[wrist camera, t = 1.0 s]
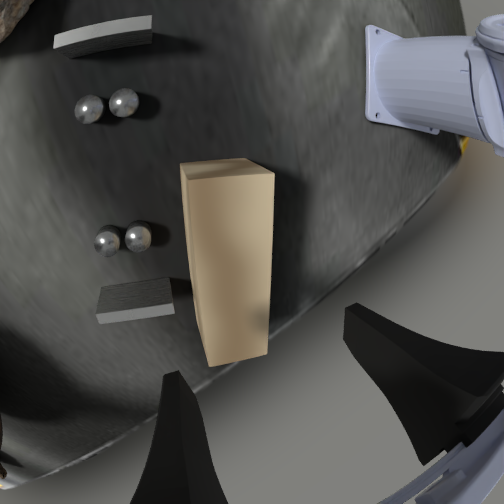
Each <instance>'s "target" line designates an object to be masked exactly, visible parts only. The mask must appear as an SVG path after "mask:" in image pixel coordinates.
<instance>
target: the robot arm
mask: <svg viewBox="0 0 504 504" xmlns="http://www.w3.org/2000/svg"><path fill="white" fill-rule="evenodd" d="M376 32H377V34H376ZM475 32H476V36H434V37H419V38H408V39H404V38H402V37H399V36H397V35H395V34H393V33H391V32H388V31H386V30H383V29H381V28H379V27H376V26H373V25H368V26H366V28H365V34H366V110H365V115H366V118H367V119H368V120H369V121H374V122H379V123H385V124H390V125H396V126H400V127H405V128H410V129H414V130H419V131H423V132H427V133H431V134H435V135H437V134H438V133H439V130H444V131H448V132H452V133H456V134H460V135H464V136H467V137H471V138H475V139H478V140H481V141H484V142H487V143H491V144H492V145H493V147H494V151H495V154H496V155H499V156H502V157H504V14H500V15H493V16H489V17H487V18H484V19H483V20H482V21H481V22H480V24H479V26H478V27H477V28H476V31H475ZM376 113H377V118H376ZM343 340H344V341H345V343H346V345H347V346H348V348H349V350H350V351H351V353H352V354H353V356H354V357H355V359H356V360H357V361H358V363H359V364H360V365H361V366H362V368H363V369H364V370H365V371H366V373H367V374H368V375H369V376H370V377H371V378H372V380H373V381H374V382H375V384H376V385H377V386H378V387H379V388H380V390H381V391H382V392H383V394H384V395H385V396H386V398H387V399H388V401H389V403H390V404H391V406H392V407H393V409H394V411H395V412H396V414H397V416H398V417H399V419H400V421H401V423H402V425H403V427H404V428H405V430H406V432H407V434H408V436H409V438H410V440H411V442H412V445H413V447H414V449H415V451H416V454H417V456H418V459H419V461H420V462H421V463H422V465H423V466H424V465H426V464H427V463H428V462H430V461H431V460H432V459H433V458H435V457H436V456H437V455H439V454H440V453H441V452H442V451H443V450H445V451H446V452H447V454H446V455H445V456H444V457H442V458H441V459H440V460H439V461H438V462H437V463H435V464H434V465H433V466H431V467H430V468H429V469H428V470H426V471H425V472H424V473H423V474H421V475H420V476H418V477H417V478H416V479H414V480H413V481H412V482H410V483H409V484H407V485H406V486H404V487H403V488H401V489H400V490H398V491H397V492H395V493H394V494H392V495H391V496H389V497H388V498H386V499H384V500H383V501H381V502H379V503H378V504H403V503H404V502H406V501H407V500H409V499H410V498H411V497H413V496H414V495H416V494H417V493H419V492H420V491H421V490H423V489H424V488H425V487H426V486H428V485H429V484H431V483H432V482H433V481H434V480H436V479H437V478H438V477H439V476H440V475H442V474H443V477H442V478H441V479H440V480H438V481H437V482H435V483H434V484H432V485H431V486H429V487H428V488H427V489H425V490H424V491H423V492H422V493H421V494H419V495H418V496H417V497H416V498H415V501H416V504H481V503H482V502H483V500H484V499H485V498H486V497H487V495H488V494H489V493H490V491H491V490H492V489H493V488H494V486H495V485H496V484H497V482H498V481H499V479H500V478H501V477H502V475H503V473H504V393H503V392H502V391H503V389H504V387H503V386H502V385H501V383H502V381H503V380H504V352H493V351H480V350H473V349H467V348H462V347H458V346H454V345H450V344H446V343H443V342H440V341H437V340H434V339H431V338H428V337H425V336H423V335H420V334H418V333H416V332H413V331H411V330H409V329H407V328H405V327H402V326H400V325H398V324H396V323H394V322H392V321H390V320H388V319H386V318H385V317H383V316H381V315H379V314H377V313H375V312H373V311H372V310H370V309H368V308H366V307H364V306H362V305H360V304H359V303H355V304H353V305H351V306H348V307H346V308H345V319H344V335H343ZM130 504H228V502H227V500H226V497H225V495H224V493H223V490H222V488H221V485H220V483H219V480H218V478H217V475H216V472H215V469H214V466H213V463H212V459H211V455H210V450H209V446H208V441H207V437H206V432H205V427H204V423H203V418H202V415H201V412H200V408H199V405H198V402H197V399H196V396H195V395H194V393H193V392H192V390H191V389H190V387H189V386H188V384H187V383H186V381H185V380H184V378H183V376H182V375H181V373H180V372H179V370H178V371H175V372H172V373H168V374H165V375H164V376H163V383H162V391H161V398H160V405H159V410H158V416H157V421H156V427H155V431H154V435H153V440H152V444H151V448H150V452H149V455H148V459H147V462H146V465H145V468H144V471H143V474H142V476H141V479H140V482H139V484H138V487H137V489H136V492H135V494H134V496H133V498H132V500H131V502H130Z"/></svg>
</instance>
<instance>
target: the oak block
mask: <svg viewBox="0 0 504 504" xmlns="http://www.w3.org/2000/svg"><path fill="white" fill-rule="evenodd" d="M180 172H181V186H182V199H183V211H184V221H185V232H186V241H187V250H188V259H189V267H190V275H191V283H192V290H193V297H194V304H195V311H196V318H197V323H198V327H199V331H200V335H201V338H202V342H203V346H204V349H205V353H206V357H207V360H208V364H209V367H212V366H217V365H222V364H227V363H231V362H236V361H240V360H245V359H249V358H253V357H257V356H261V355H266V354H267V344H268V327H269V307H270V287H271V264H272V240H273V211H274V177H275V173H273V172H271V171H269V170H267V169H265V168H263V167H261V166H259V165H257V164H255V163H253V162H252V161H250V160H247V159H245V158H239V159H223V160H210V161H199V162H188V163H180Z"/></svg>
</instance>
